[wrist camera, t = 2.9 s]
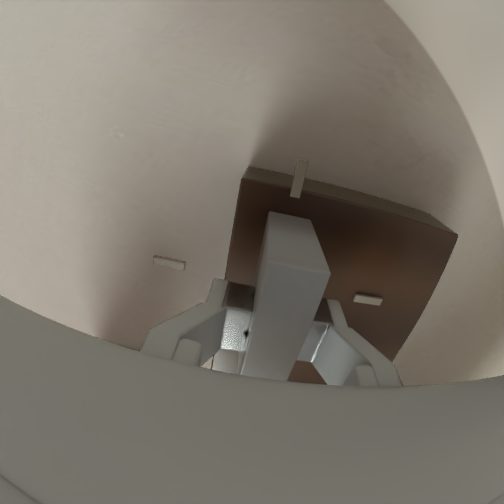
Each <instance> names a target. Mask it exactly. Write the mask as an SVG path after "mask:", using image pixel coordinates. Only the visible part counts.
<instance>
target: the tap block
mask: <svg viewBox="0 0 504 504" xmlns="http://www.w3.org/2000/svg"><path fill="white" fill-rule="evenodd" d="M307 165H308V161H307V160H303V159H298V161H297V165H296V170H295V174H294V176H293V175H288V174H283V173H279V172H274V171H269V170H264V169H259V168H254V167H248V168H247V170H246V172H245V173H244V175H243V177H242V179H241V183H240V189H239V195H238V200H237V206H236V212H235V218H234V224H233V229H232V235H231V241H230V247H229V254H228V260H227V266H226V272H225V279H224V280H227V281H228V282H229V281H231V282H236V283H240V284H245V285H250V286H253V281H254V277H255V272H256V268H257V263H258V258H259V254H260V249H261V245H262V240H263V236H264V231H265V226H266V222H267V217H268V213H269V212H270V211H271V212H276V213H281V214H286V215H291V216H296V217H300V218H305V219H309V220H311V223H312V225H313V228H314V230H315V233H316V235H317V238H318V240H319V243H320V246H321V248H322V251H323V254H324V256H325V259H326V262H327V264H328V267H329V270H330V272H331V275H330V277H329V280H328V283H327V286H326V288H325V291H324V294H323V296H322V298H325V299H333V300H338V301H339V302H340V305H341V308H342V311H343V314H344V317H345V320H346V323H347V326H348V327H349V328H352V329H354V330H355V331H356V332H357V333H358V334H359V335H361V336H362V337H363V338H364V339H365V340H366V341H368V342H369V343H370V344H371V345H372V346H373V347H375V348H376V349H377V350H378V351H379V352H380V353H382V354H383V355H384V356H385V357H386V358H387V359H389V360H390V361H391V362H392V361H393V359H394V358H395V356H396V355H397V353H398V352H399V350H400V349H401V347H402V346H403V344H404V343H405V341H406V339H407V338H408V336H409V334H410V333H411V331H412V330H413V328H414V326H415V324H416V323H417V321H418V319H419V318H420V316H421V314H422V312H423V310H424V309H425V307H426V305H427V303H428V301H429V299H430V297H431V295H432V293H433V292H434V290H435V288H436V286H437V284H438V281H439V279H440V277H441V275H442V273H443V271H444V269H445V267H446V264H447V262H448V260H449V257H450V255H451V253H452V250H453V248H454V246H455V243H456V241H457V238H458V235H457V234H456V233H455V232H453V231H452V230H451V229H449V228H448V227H447V226H445V225H444V224H443V223H441V222H440V221H438V220H437V219H436V218H434V217H433V216H431V215H430V214H427V213H425V212H422V211H419V210H416V209H413V208H410V207H407V206H404V205H401V204H397V203H394V202H391V201H388V200H384V199H381V198H378V197H374V196H371V195H368V194H364V193H361V192H357V191H353V190H350V189H346V188H342V187H338V186H335V185H331V184H327V183H323V182H319V181H314V180H310V179H306V178H305V173H306V169H307ZM153 264H155V265H160V266H165V267H169V268H174V269H179V270H183V271H184V270H185V264H186V262H184V261H179V260H175V259H170V258H165V257H160V256H156V255H155V256H154V259H153ZM238 358H239V352H238V351H232V350H226V349H220V350H219V351H218V352H216V353H215V354H214V355H213V360H212V367H211V369H212V370H217V371H222V372H228V373H233V374H236V373H237V366H238ZM287 381H289V382H299V383H309V384H322V385H327V383H326V382H325V380H324V379H323V378H322V376H321V375H320V374H319V372H318V371H317V370H316V368H315V367H314V365H313V364H312V362H305V361H298V360H296V362H295V364H294V366H293V369H292V371H291V373H290V375H289V377H288V380H287Z"/></svg>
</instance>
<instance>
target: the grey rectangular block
mask: <svg viewBox="0 0 504 504" xmlns="http://www.w3.org/2000/svg"><path fill="white" fill-rule="evenodd" d="M330 275H331V272H330V270H329V267H328V264H327V262H326V259H325V256H324V254H323V251H322V248H321V246H320V243H319V240H318V238H317V235H316V233H315V230H314V228H313V225H312V223H311V220H309V219H305V218H300V217H296V216H291V215H286V214H281V213H276V212H271V211H270V212H269V213H268V217H267V222H266V226H265V231H264V236H263V240H262V245H261V249H260V254H259V258H258V263H257V268H256V272H255V277H254V281H253V286H255V294H254V308H253V315H252V319H251V323H250V327H249V330H248V332H247V339H246V343H245V347H244V352H239V358H238V366H237V373H236V374H239V375H245V376H251V377H258V378H265V379H272V380H280V381H287V380H288V377H289V375H290V373H291V371H292V369H293V366H294V364H295V362H296V360H297V357H298V355H299V353H300V351H301V348H302V346H303V344H304V341H305V339H306V336H307V334H308V332H309V329H310V327H311V324H312V322H313V319H314V317H315V314H316V312H317V309H318V307H319V304H320V302H321V299H322V296H323V294H324V291H325V288H326V286H327V283H328V280H329V277H330Z"/></svg>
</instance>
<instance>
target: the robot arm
mask: <svg viewBox="0 0 504 504" xmlns="http://www.w3.org/2000/svg"><path fill="white" fill-rule="evenodd" d="M254 294H255V286H250V285H245V284H240V283H236V282H231V281H229V282H228V281H227V280H222V279H216V278H215V279H214V280H213V282H212V285H211V288H210V291H209V294H208V297H207V300H206V303H205V304H204V303H200V304H198V305H196V306H194V307H192V308H190V309H188V310H187V311H185V312H183V313H181V314H179V315H177V316H175V317H173V318H171V319H169V320H167V321H165V322H163V323H161V324H159V325H157V326H155V327H153V328H151V329H150V331H149V333H148V335H147V337H146V339H145V341H144V343H143V345H142V347H141V349H140V351H136V350H133V349H130V348H126V347H123V346H120V345H117V344H114V343H111V342H108V341H105V340H102V339H99V338H96V337H94V336H91V335H88V334H86V333H83V332H80V331H78V330H75V329H73V328H70V327H68V326H65V325H63V324H60V323H58V322H55V321H53V320H51V319H49V318H46V317H44V316H42V315H40V314H37V313H35V312H33V311H31V310H29V309H27V308H25V307H23V306H21V305H19V304H17V303H15V302H13V301H11V300H9V299H7V298H5V297H3V296H1V295H0V504H504V375H502V376H497V377H491V378H485V379H479V380H472V381H464V382H456V383H446V384H434V385H419V386H403V385H402V382H401V380H400V377H399V374H398V372H397V369H396V367H395V365H394V364H393V363H392V362H391V361H390V360H389V359H387V358H386V357H385V356H384V355H383V354H382V353H380V352H379V351H378V350H377V349H376V348H375V347H373V346H372V345H371V344H370V343H369V342H368V341H366V340H365V339H364V338H363V337H362V336H361V335H359V334H358V333H357V332H356V331H355V330H354V329H352V328H349V327H348V326H347V323H346V320H345V317H344V314H343V311H342V308H341V305H340V302H339V301H338V300H333V299H325V298H322V299H321V302H320V304H319V307H318V309H317V312H316V314H315V317H314V319H313V322H312V324H311V327H310V329H309V332H308V334H307V336H306V339H305V341H304V344H303V346H302V348H301V351H300V353H299V355H298V357H297V360H298V361H305V362H312V364H313V365H314V367H315V368H316V370H317V371H318V372H319V374H320V375H321V376H322V378H323V379H324V380H325V382H326V383H327V385H322V384H309V383H299V382H289V381H280V380H272V379H265V378H258V377H251V376H245V375H239V374H233V373H228V372H222V371H217V370H212V369H207V368H203V367H200V366H201V365H203V364H204V363H205V362H206V361H207V360H208V359H210V358H211V357H212V356H213V355H214V354H215V353H216V352H218V351H219V350H220V349H226V350H232V351H238V352H244V347H245V343H246V339H247V332H248V330H249V327H250V323H251V319H252V315H253V308H254Z"/></svg>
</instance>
